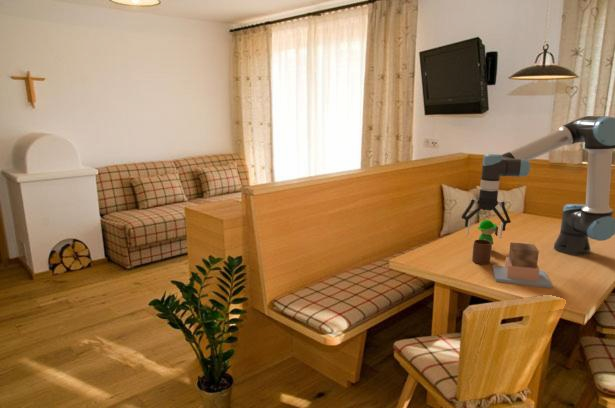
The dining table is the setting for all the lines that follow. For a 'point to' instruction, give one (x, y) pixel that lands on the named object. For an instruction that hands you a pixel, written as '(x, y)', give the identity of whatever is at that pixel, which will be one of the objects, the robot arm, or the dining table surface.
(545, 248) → the dining table surface
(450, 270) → the dining table surface
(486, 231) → the toy
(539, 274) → the plate
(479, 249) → the mug
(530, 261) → the walnut block
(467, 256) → the dining table surface
